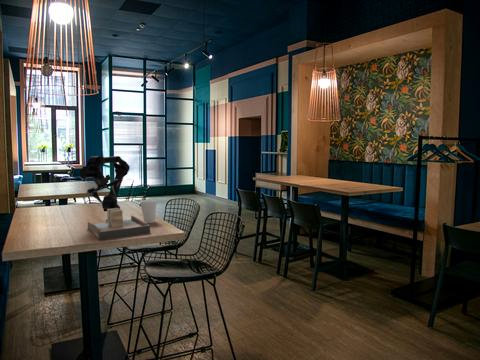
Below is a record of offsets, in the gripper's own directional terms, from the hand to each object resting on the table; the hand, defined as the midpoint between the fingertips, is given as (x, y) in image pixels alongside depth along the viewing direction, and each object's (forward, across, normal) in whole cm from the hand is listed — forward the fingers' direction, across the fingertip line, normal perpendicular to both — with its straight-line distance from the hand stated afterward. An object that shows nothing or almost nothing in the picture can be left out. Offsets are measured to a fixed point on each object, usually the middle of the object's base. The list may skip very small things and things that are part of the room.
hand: (109, 200), depth 231 cm
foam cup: (+21, +17, +4) cm, 27 cm away
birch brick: (+16, -4, -4) cm, 17 cm away
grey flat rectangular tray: (+20, -5, -8) cm, 22 cm away
